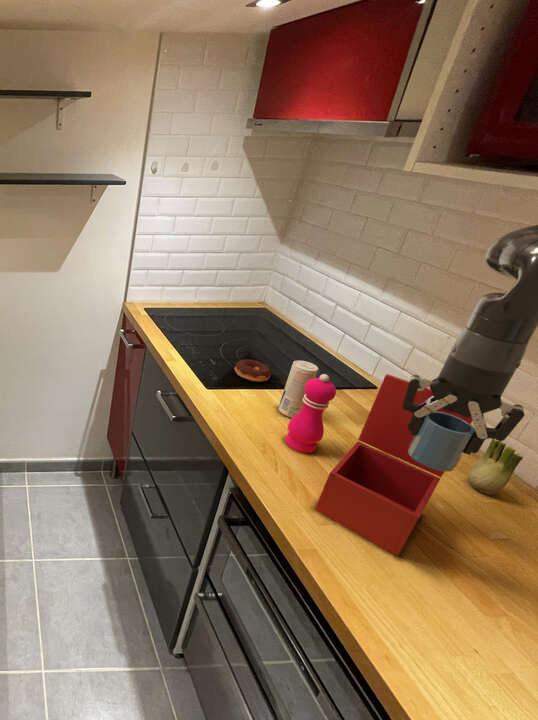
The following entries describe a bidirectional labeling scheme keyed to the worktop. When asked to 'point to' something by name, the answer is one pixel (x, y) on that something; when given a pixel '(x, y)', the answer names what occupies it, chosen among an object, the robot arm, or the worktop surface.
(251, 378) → the donut
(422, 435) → the cup
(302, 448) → the pepper mill
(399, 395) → the cooler lid
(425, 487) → the cooler
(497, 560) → the worktop surface
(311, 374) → the beverage can
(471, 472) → the fennel bulb
